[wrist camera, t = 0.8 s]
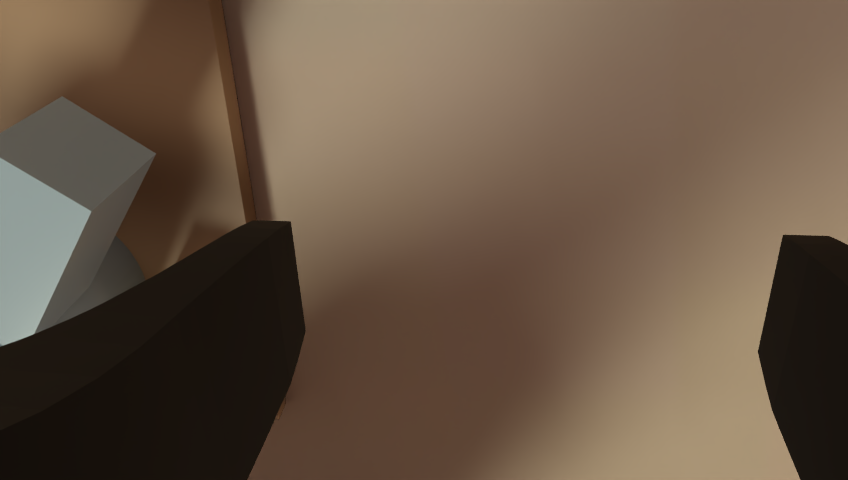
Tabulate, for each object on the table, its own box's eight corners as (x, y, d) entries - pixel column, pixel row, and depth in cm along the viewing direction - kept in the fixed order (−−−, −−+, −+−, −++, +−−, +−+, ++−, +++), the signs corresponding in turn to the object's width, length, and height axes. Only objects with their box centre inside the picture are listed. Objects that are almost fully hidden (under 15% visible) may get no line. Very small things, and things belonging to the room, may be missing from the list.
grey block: (242, 147, 20) (154, 247, 16) (112, 377, 25) (14, 508, 20) (62, 34, 19) (-90, 105, 15) (-38, 294, 24) (-178, 411, 19)
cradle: (285, 402, 25) (259, 465, 23) (-45, 384, 27) (-102, 439, 25) (184, -233, 17) (125, -240, 14) (-293, -208, 18) (-420, -211, 16)
